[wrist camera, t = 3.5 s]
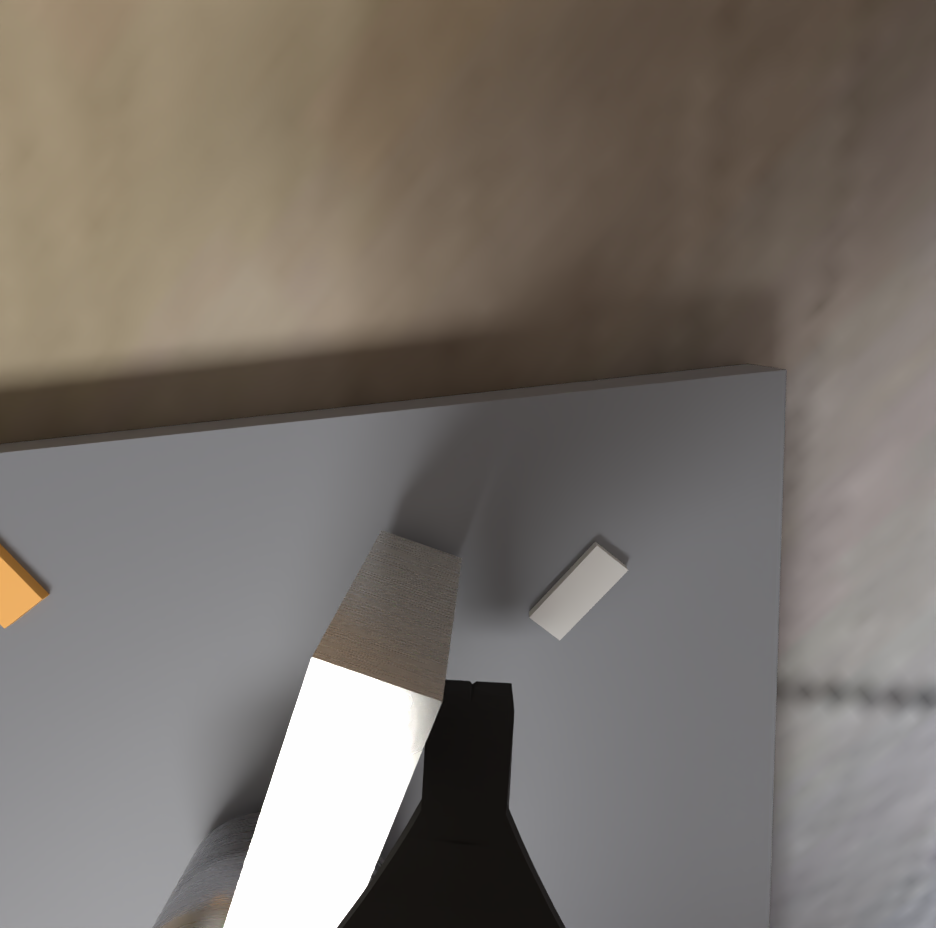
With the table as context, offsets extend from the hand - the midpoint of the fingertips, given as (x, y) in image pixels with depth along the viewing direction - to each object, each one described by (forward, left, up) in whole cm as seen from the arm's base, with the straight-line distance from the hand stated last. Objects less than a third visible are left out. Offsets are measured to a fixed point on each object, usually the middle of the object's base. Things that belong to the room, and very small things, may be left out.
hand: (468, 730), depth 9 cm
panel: (-6, +5, -4) cm, 8 cm away
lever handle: (-3, +3, -2) cm, 4 cm away
